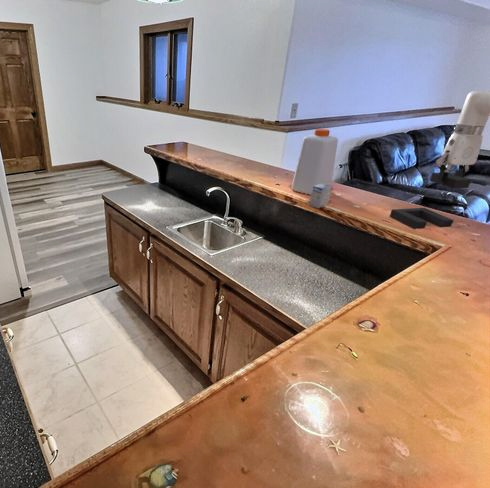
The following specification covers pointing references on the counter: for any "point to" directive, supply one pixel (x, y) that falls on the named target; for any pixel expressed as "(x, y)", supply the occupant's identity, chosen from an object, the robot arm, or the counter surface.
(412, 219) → the base pad
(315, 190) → the medicine box
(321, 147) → the plastic bottle
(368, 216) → the counter surface
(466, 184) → the black pad
